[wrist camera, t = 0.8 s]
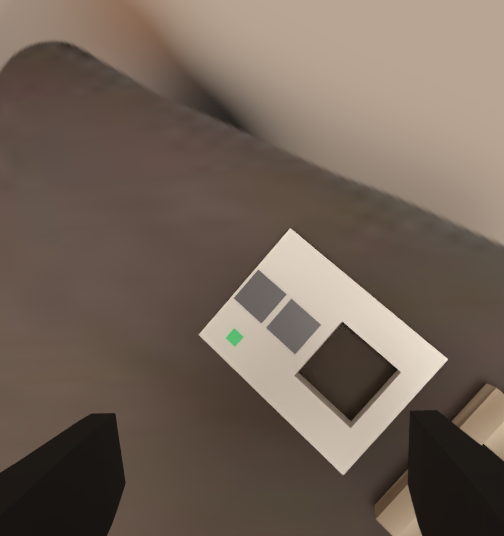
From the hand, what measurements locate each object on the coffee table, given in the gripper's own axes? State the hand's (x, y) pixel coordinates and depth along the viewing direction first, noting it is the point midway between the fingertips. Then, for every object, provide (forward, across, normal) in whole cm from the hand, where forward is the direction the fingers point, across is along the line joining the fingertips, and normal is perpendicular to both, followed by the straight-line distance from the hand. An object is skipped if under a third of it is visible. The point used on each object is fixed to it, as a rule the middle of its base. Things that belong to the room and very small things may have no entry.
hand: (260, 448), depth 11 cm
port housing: (+18, -2, +5) cm, 19 cm away
